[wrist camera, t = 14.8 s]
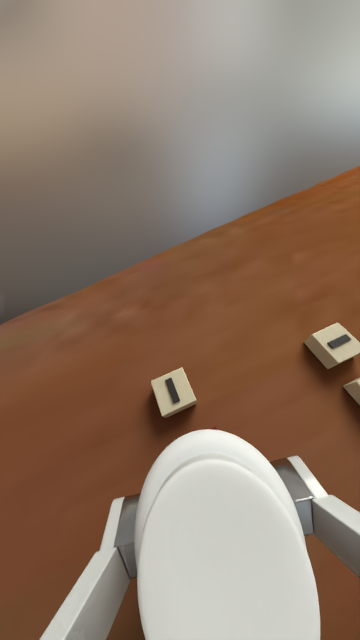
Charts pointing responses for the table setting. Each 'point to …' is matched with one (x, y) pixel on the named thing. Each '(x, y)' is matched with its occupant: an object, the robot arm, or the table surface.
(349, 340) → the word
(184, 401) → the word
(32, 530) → the table surface
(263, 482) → the supplement bottle
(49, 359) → the table surface
